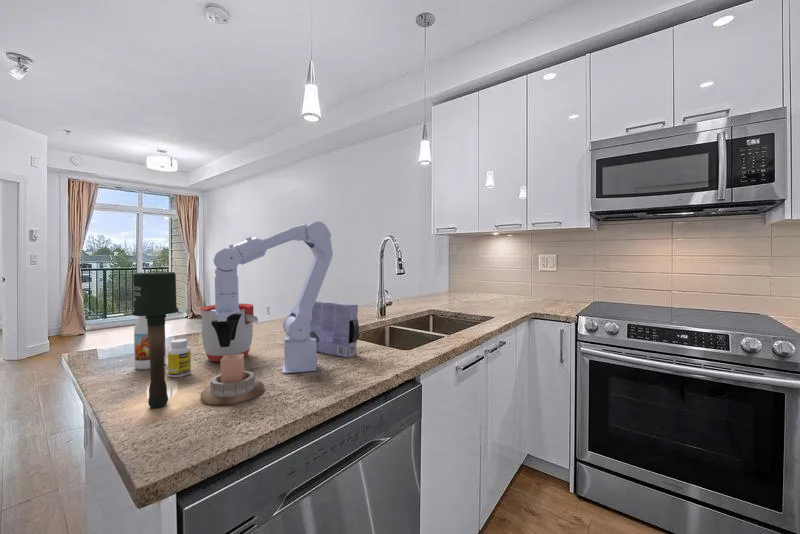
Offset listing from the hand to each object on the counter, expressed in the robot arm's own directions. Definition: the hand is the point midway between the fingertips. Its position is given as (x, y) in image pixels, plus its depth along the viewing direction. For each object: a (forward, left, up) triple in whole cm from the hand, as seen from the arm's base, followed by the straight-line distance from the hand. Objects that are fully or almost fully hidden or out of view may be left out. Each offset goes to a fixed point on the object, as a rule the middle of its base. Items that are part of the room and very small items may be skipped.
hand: (227, 343), depth 96 cm
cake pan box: (-30, -18, -10) cm, 36 cm away
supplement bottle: (+14, -8, -10) cm, 19 cm away
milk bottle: (+25, -19, -10) cm, 33 cm away
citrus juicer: (+3, -22, -10) cm, 24 cm away
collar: (-3, +11, -10) cm, 15 cm away
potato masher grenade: (+12, +14, -10) cm, 21 cm away
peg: (-3, +11, -9) cm, 14 cm away
